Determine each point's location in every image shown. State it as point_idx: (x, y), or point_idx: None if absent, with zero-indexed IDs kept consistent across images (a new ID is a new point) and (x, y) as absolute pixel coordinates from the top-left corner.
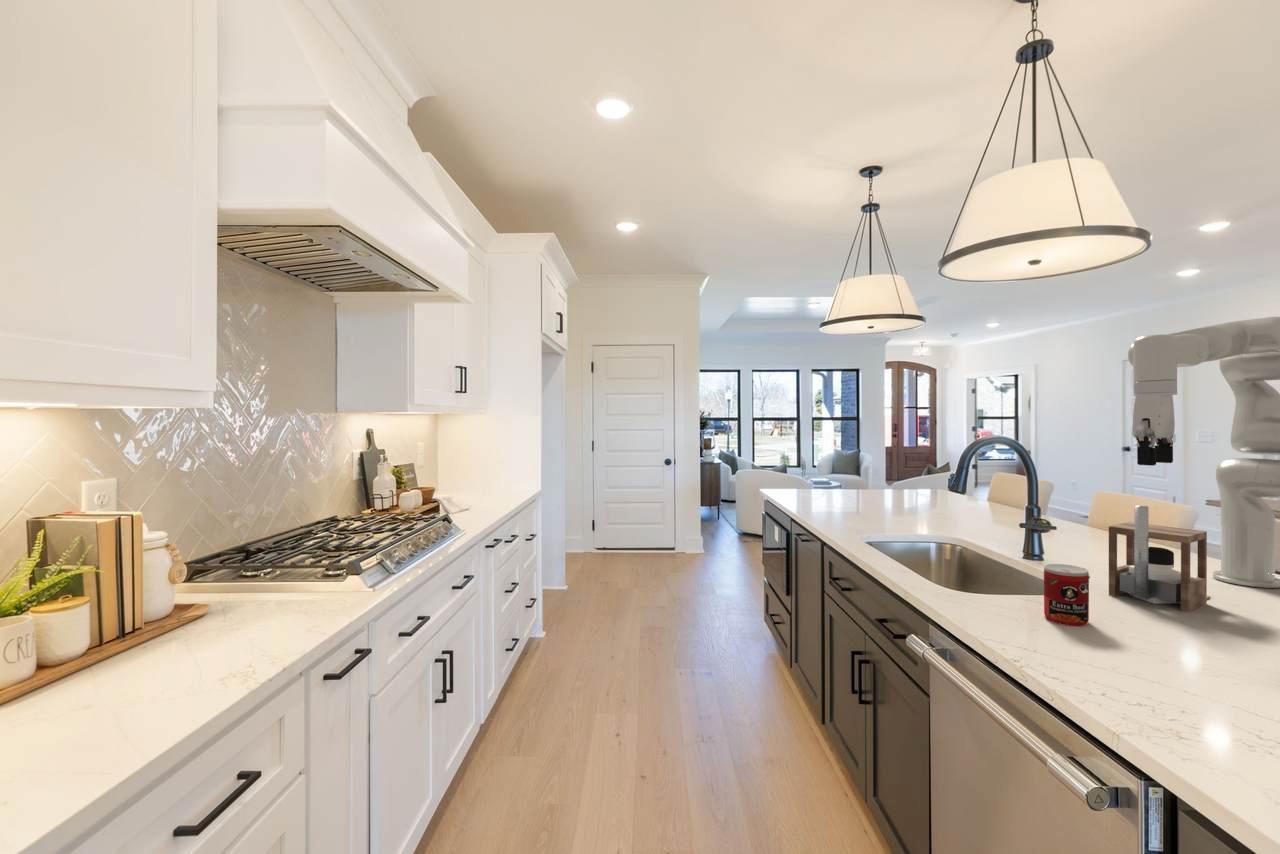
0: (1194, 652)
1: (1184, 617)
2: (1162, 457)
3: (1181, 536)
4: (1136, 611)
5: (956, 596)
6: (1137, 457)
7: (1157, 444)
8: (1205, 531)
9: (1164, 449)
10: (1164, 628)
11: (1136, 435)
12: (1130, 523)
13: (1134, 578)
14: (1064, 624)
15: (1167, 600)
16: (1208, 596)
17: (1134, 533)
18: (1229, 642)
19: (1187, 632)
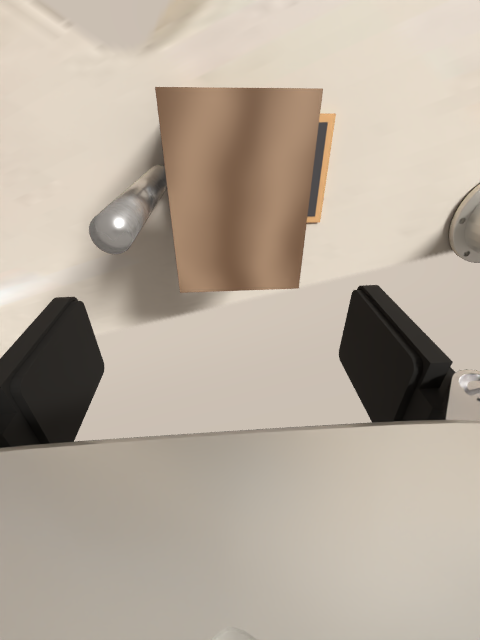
0: (6, 299)
1: (154, 240)
2: (358, 341)
3: (179, 280)
4: (113, 185)
5: None
6: (33, 323)
7: (449, 383)
8: (295, 287)
9: (380, 394)
10: (65, 245)
11: (9, 481)
12: (290, 109)
13: (147, 171)
14: None
15: None
16: (312, 221)
17: (123, 192)
18: (92, 305)
19: (80, 268)
